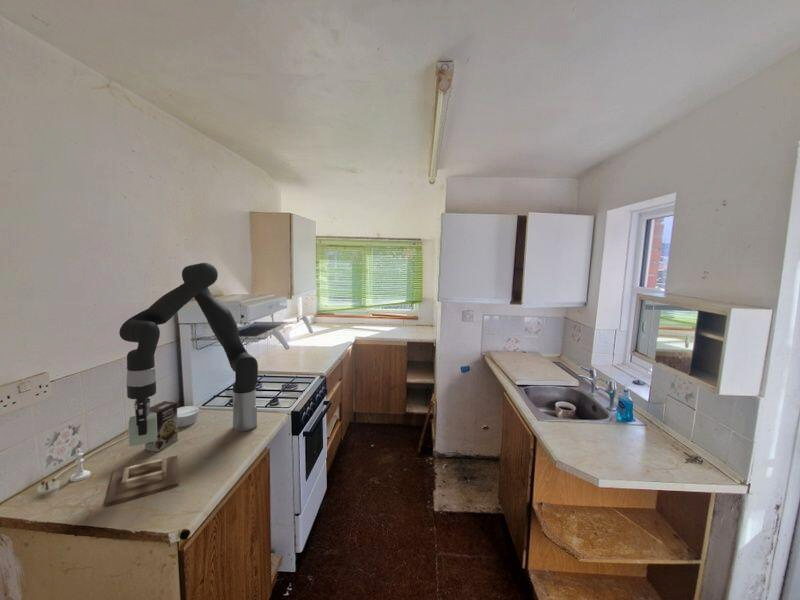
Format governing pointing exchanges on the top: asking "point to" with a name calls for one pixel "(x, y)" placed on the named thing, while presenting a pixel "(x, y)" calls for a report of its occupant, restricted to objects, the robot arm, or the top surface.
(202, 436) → the top surface
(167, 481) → the board
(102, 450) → the top surface
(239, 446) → the top surface
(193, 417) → the ramekin
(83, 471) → the chess piece
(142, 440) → the key block
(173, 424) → the coffee box
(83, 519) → the top surface
